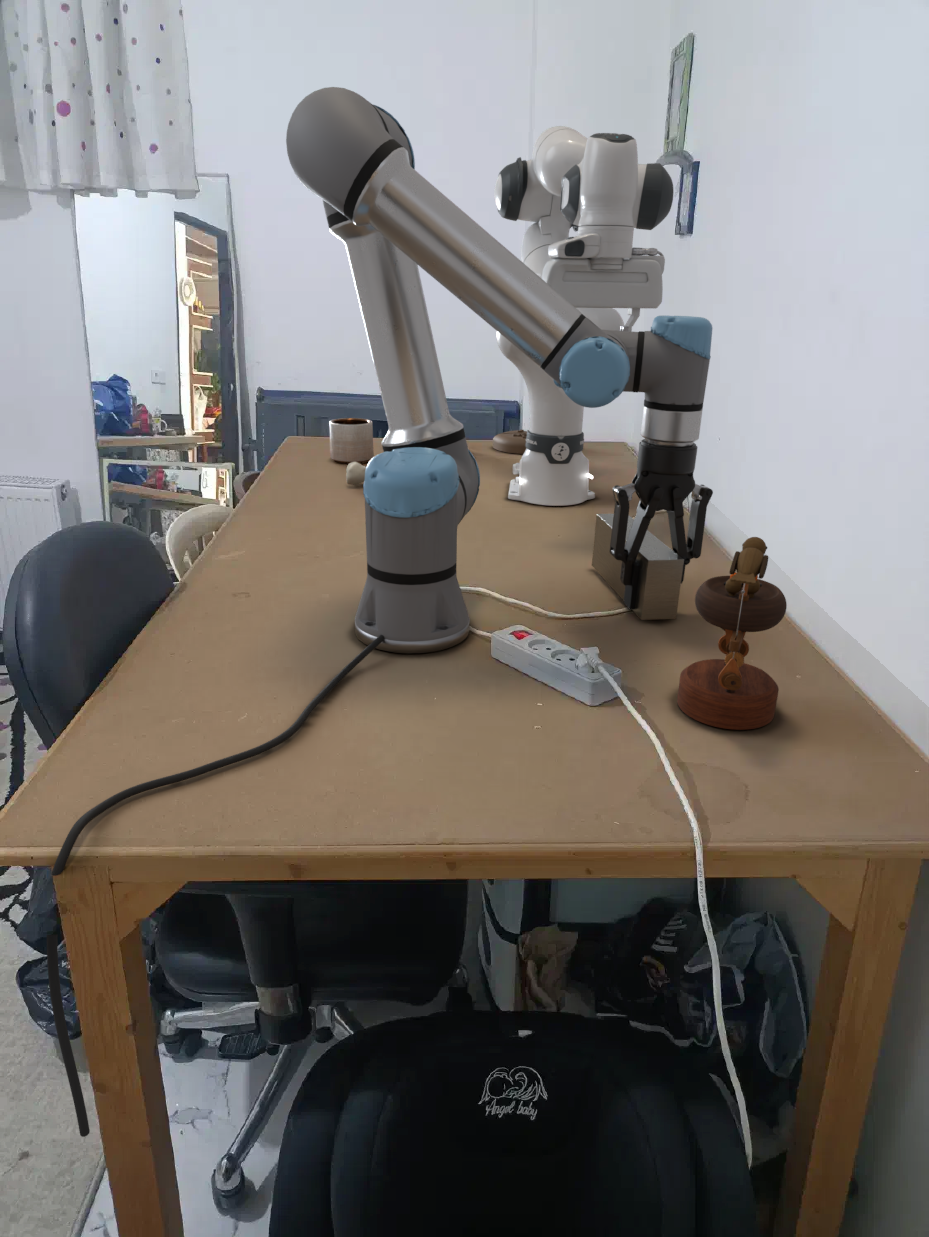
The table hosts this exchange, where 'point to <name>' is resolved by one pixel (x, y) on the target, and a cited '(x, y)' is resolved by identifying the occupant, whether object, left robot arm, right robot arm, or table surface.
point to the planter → (351, 440)
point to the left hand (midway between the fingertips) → (648, 604)
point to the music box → (734, 646)
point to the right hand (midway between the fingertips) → (598, 337)
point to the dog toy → (355, 473)
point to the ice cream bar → (511, 441)
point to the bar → (641, 571)
